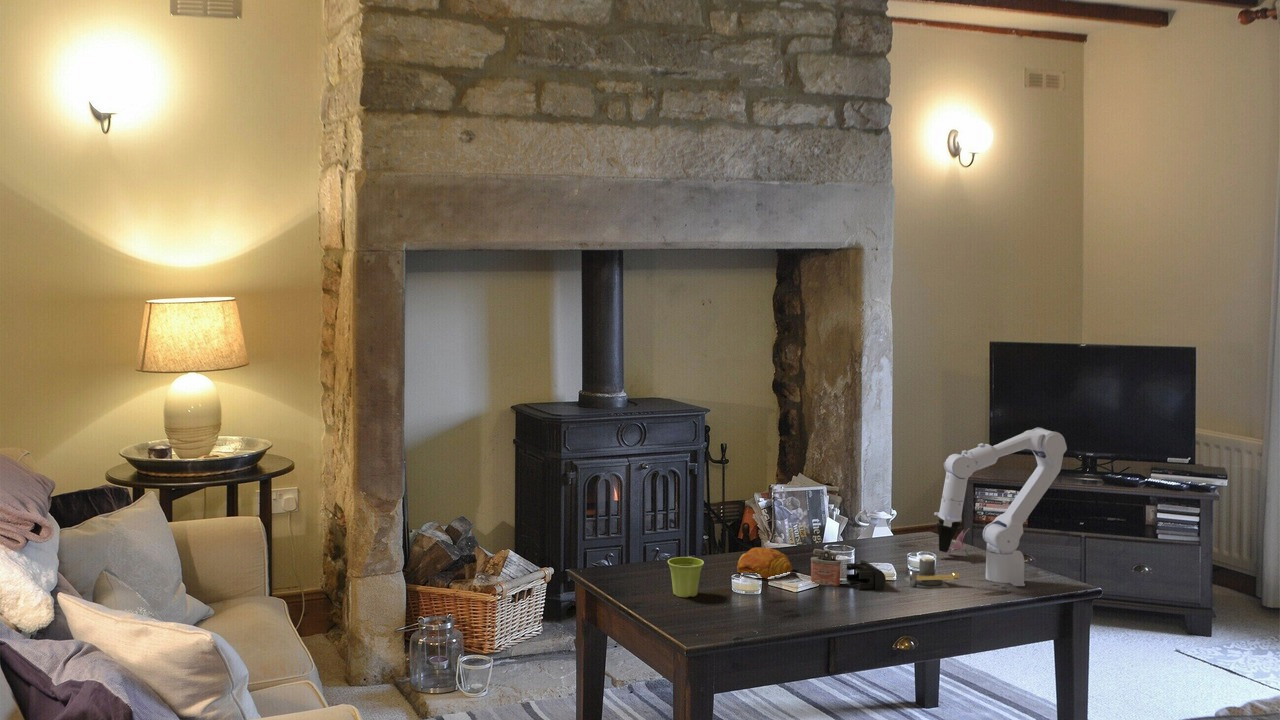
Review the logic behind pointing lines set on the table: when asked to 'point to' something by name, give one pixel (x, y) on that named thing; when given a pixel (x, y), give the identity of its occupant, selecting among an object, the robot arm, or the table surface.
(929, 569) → the plug
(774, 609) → the table surface
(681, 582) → the plant pot
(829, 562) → the lighter
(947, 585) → the panel
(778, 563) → the croissant
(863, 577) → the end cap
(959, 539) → the lily
